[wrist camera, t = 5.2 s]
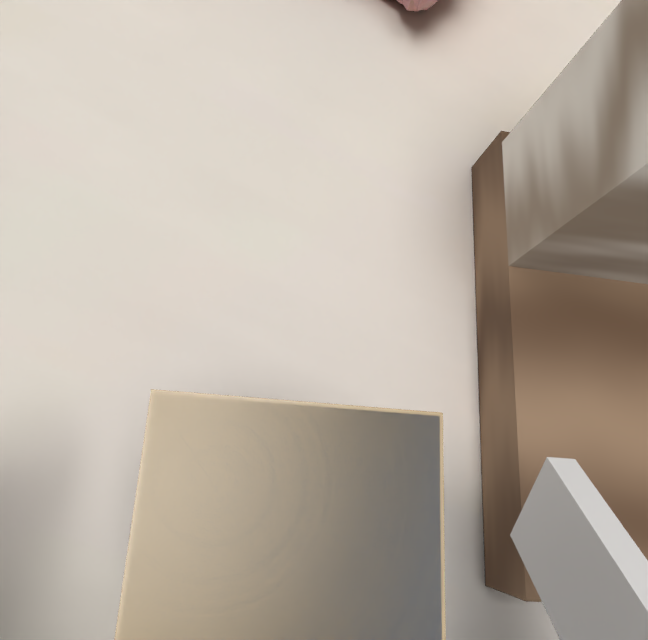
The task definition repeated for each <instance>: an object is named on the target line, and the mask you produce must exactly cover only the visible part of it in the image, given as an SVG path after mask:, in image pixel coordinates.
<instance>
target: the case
mask: <svg viewBox="0 0 648 640" xmlns="http://www.w3.org/2000/svg"><path fill="white" fill-rule="evenodd" d="M114 640H446V636H445V556H444V475H443V413H440V412H427V411H415V410H402V409H390V408H378V407H365V406H353V405H340V404H328V403H316V402H303V401H291V400H278V399H266V398H254V397H241V396H229V395H216V394H204V393H192V392H179V391H167V390H154V389H151V394H150V401H149V408H148V414H147V421H146V428H145V435H144V442H143V448H142V455H141V462H140V469H139V476H138V482H137V489H136V496H135V503H134V509H133V516H132V523H131V530H130V537H129V543H128V550H127V557H126V564H125V571H124V577H123V584H122V591H121V598H120V605H119V611H118V618H117V625H116V632H115V639H114Z"/></svg>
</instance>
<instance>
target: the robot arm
mask: <svg viewBox="0 0 648 640" xmlns="http://www.w3.org/2000/svg"><path fill="white" fill-rule="evenodd" d="M510 536H511V538H512V540H513V542H514V544H515V546H516V548H517V550H518V553H519V555H520V557H521V559H522V561H523V563H524V565H525V567H526V569H527V571H528V573H529V576H530V578H531V580H532V582H533V584H534V586H535V588H536V590H537V592H538V594H539V596H540V598H541V601H542V603H543V605H544V607H545V609H546V611H547V613H548V615H549V617H550V619H551V621H552V624H553V626H554V628H555V630H556V632H557V634H558V636H559V638H560V640H648V560H647V559H646V558H645V556H644V555H643V553H642V552H641V551H640V549H639V548H638V546H637V545H636V544H635V542H634V541H633V539H632V538H631V537H630V535H629V534H628V532H627V531H626V530H625V528H624V527H623V525H622V524H621V523H620V521H619V520H618V518H617V517H616V516H615V514H614V513H613V511H612V510H611V509H610V507H609V506H608V504H607V503H606V502H605V500H604V499H603V497H602V496H601V495H600V493H599V492H598V490H597V489H596V488H595V486H594V485H593V483H592V482H591V481H590V479H589V478H588V476H587V475H586V474H585V472H584V471H583V469H582V468H581V467H580V465H579V464H578V462H577V461H576V460H575V459H568V458H554V457H547V458H546V460H545V462H544V464H543V466H542V468H541V470H540V473H539V475H538V477H537V479H536V481H535V483H534V485H533V487H532V489H531V492H530V494H529V496H528V498H527V500H526V502H525V504H524V506H523V508H522V511H521V513H520V515H519V517H518V519H517V521H516V523H515V525H514V527H513V530H512V532H511V534H510Z"/></svg>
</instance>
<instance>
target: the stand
mask: <svg viewBox="0 0 648 640" xmlns="http://www.w3.org/2000/svg"><path fill="white" fill-rule="evenodd" d="M472 189H473V219H474V249H475V280H476V310H477V340H478V371H479V401H480V431H481V461H482V492H483V522H484V552H485V583H486V586H488V587H490V588H493V589H496V590H498V591H501V592H503V593H506V594H509V595H511V596H514V597H516V598H519V599H521V600H524V601H536V602H542V601H541V598H540V596H539V594H538V592H537V590H536V588H535V586H534V584H533V582H532V580H531V578H530V576H529V573H528V571H527V569H526V567H525V565H524V563H523V561H522V559H521V557H520V555H519V553H518V550H517V548H516V546H515V544H514V542H513V540H512V538H511V536H510V534H511V532H512V530H513V527H514V525H515V523H516V521H517V519H518V517H519V515H520V513H521V511H522V508H523V506H524V504H525V502H526V500H527V498H528V496H529V494H530V492H531V489H532V487H533V485H534V483H535V481H536V479H537V477H538V475H539V473H540V470H541V468H542V466H543V464H544V462H545V460H546V458H547V457H554V458H568V459H575V460H576V461H577V462H578V464H579V465H580V467H581V468H582V469H583V471H584V472H585V474H586V475H587V476H588V478H589V479H590V481H591V482H592V483H593V485H594V486H595V488H596V489H597V490H598V492H599V493H600V495H601V496H602V497H603V499H604V500H605V502H606V503H607V504H608V506H609V507H610V509H611V510H612V511H613V513H614V514H615V516H616V517H617V518H618V520H619V521H620V523H621V524H622V525H623V527H624V528H625V530H626V531H627V532H628V534H629V535H630V537H631V538H632V539H633V541H634V542H635V544H636V545H637V546H638V548H639V549H640V551H641V552H642V553H643V555H644V556H645V558H646V559H647V560H648V0H622V1H621V2H620V3H619V4H618V5H617V7H616V8H615V9H614V10H613V11H612V13H611V14H610V15H609V16H608V17H607V18H606V20H605V21H604V22H603V23H602V24H601V26H600V27H599V28H598V29H597V30H596V32H595V33H594V34H593V35H592V36H591V37H590V39H589V40H588V41H587V42H586V43H585V45H584V46H583V47H582V48H581V49H580V50H579V52H578V53H577V54H576V55H575V56H574V58H573V59H572V60H571V61H570V62H569V63H568V65H567V66H566V67H565V68H564V69H563V71H562V72H561V73H560V74H559V75H558V77H557V78H556V79H555V80H554V81H553V82H552V84H551V85H550V86H549V87H548V88H547V90H546V91H545V92H544V93H543V94H542V95H541V97H540V98H539V99H538V100H537V101H536V103H535V104H534V105H533V106H532V107H531V108H530V110H529V111H528V112H527V113H526V114H525V116H524V117H523V118H522V119H521V120H520V122H519V123H518V124H517V125H516V126H515V127H514V129H513V130H512V131H511V132H505V131H501V132H500V133H499V134H498V136H497V137H496V138H495V139H494V141H493V142H492V143H491V144H490V145H489V147H488V148H487V149H486V150H485V152H484V153H483V154H482V155H481V156H480V158H479V159H478V160H477V161H476V163H475V164H474V165H473V166H472Z"/></svg>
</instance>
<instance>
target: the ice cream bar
mask: <svg viewBox="0 0 648 640" xmlns="http://www.w3.org/2000/svg"><path fill="white" fill-rule="evenodd" d="M397 1H398V2H399V3H401V4H403V5H404V6H405V8H406V10H410V11H419V10H422V9H423V10H427V9H428V8H430V7H431V6H432V5H434V4H435V3H436V2H437V1H438V0H397Z"/></svg>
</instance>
